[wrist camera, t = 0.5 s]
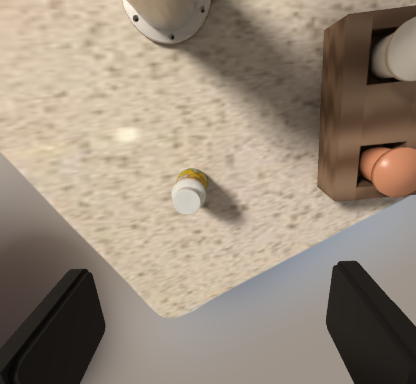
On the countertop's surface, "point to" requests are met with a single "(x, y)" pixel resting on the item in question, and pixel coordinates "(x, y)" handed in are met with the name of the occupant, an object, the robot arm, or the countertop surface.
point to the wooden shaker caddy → (360, 103)
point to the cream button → (395, 54)
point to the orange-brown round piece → (389, 169)
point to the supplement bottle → (189, 191)
